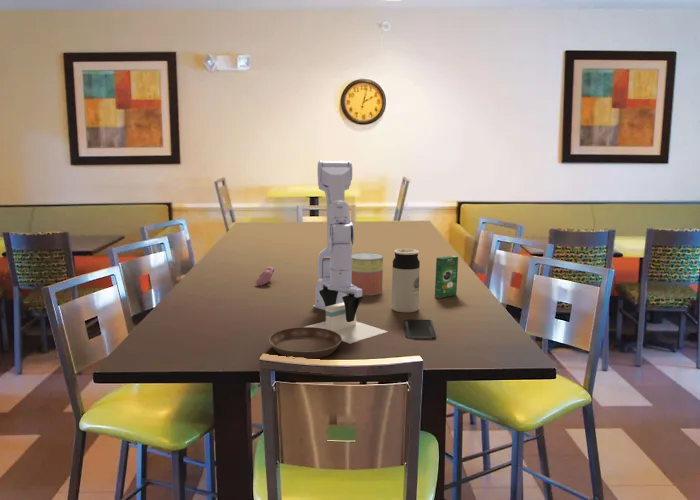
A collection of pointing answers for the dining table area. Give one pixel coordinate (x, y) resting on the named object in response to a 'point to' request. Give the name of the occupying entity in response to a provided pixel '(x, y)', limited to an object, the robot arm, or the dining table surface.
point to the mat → (354, 331)
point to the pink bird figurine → (265, 276)
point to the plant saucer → (305, 342)
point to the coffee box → (446, 276)
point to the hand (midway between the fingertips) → (340, 318)
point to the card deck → (337, 317)
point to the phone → (419, 329)
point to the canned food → (367, 272)
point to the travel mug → (405, 280)
